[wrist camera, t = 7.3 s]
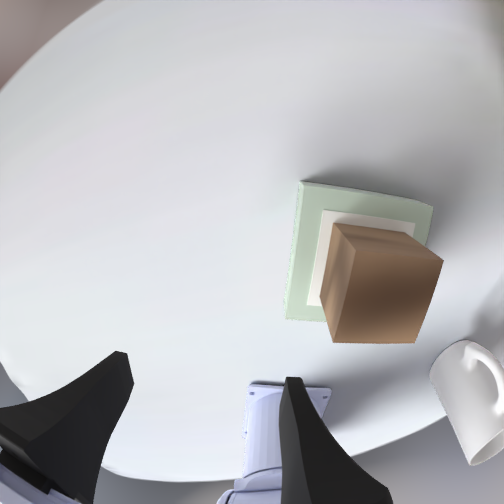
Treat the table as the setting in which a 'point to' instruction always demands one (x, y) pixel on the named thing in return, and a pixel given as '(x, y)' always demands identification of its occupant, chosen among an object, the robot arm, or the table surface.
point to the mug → (472, 397)
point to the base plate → (319, 233)
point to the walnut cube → (376, 285)
